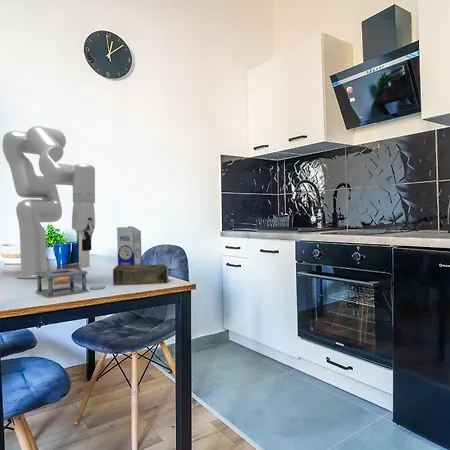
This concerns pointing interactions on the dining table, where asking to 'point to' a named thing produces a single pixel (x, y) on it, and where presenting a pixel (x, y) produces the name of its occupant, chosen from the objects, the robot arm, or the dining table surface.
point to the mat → (96, 287)
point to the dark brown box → (140, 274)
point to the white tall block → (83, 252)
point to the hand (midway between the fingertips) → (84, 249)
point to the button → (61, 280)
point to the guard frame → (71, 288)
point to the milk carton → (129, 246)
